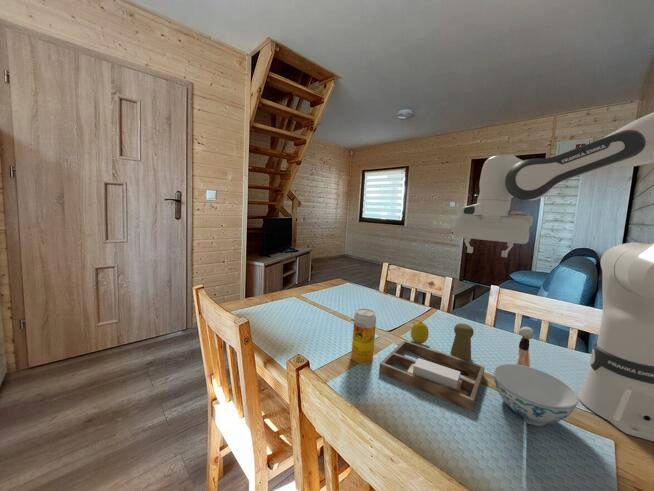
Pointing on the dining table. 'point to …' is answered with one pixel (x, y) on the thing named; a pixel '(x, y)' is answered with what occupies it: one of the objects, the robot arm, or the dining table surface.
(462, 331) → the brown tall rounded piece
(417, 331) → the lemon
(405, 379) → the walnut divided tray
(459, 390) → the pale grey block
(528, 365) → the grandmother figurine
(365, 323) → the beer can
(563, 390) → the chinaware
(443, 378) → the grey offcut
